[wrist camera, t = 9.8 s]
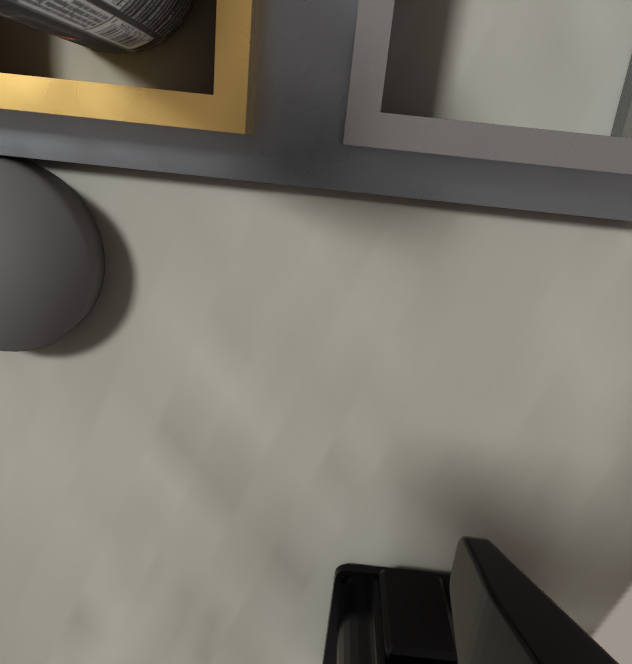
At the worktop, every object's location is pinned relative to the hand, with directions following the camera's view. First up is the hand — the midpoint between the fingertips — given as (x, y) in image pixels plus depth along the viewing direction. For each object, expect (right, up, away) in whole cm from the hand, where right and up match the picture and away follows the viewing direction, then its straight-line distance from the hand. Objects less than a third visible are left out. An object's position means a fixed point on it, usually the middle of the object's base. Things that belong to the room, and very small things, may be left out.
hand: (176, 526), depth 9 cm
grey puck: (-9, +6, +12) cm, 16 cm away
